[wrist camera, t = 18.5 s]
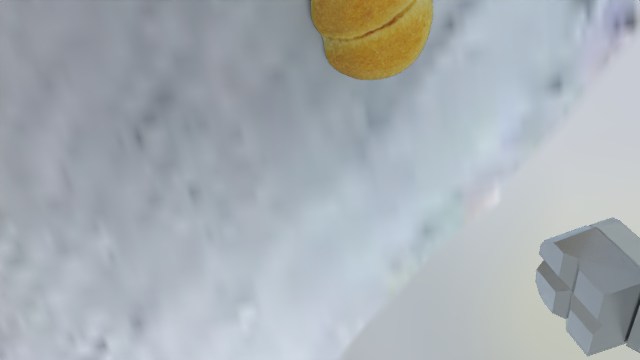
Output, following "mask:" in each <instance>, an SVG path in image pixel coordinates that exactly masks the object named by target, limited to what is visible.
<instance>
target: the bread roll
mask: <svg viewBox="0 0 640 360" xmlns="http://www.w3.org/2000/svg"><path fill="white" fill-rule="evenodd" d="M311 16H312V20H313V23H314V26H315V27H316V29H317V30H318V32H319V33H320V34H321V35H322V38H323V41H324V49H325V53H326V57H327V59H328V61H329V63H330V64H331V65H332V66H333V67H334V68H335V69H336V70H338V71H339V72H341V73H343V74H345V75H347V76H350V77H352V78H355V79H361V80H376V79H383V78H388V77H391V76H394V75H396V74H398V73H400V72H401V71H403V70H405V69H406V68H407V67H409V66H410V65H411V64H412V63H413V62H414V61H415V60H416V58H417V57H418V56H419V55H420V53H421V51H422V50H423V48H424V45H425V43H426V41H427V39H428V35H429V32H430V28H431V24H432V20H433V1H432V0H311Z"/></svg>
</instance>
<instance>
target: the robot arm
mask: <svg viewBox="0 0 640 360" xmlns="http://www.w3.org/2000/svg"><path fill="white" fill-rule="evenodd" d="M539 255H540V256H541V257H542V258H543V259H544V261H543V262H542V263H541V265H540V266H539V267H538V268H537V271H536V284H537V288H538V291H539V294H540V296H541V298H542V300H543V302H544V303H545V305H546V306H547V307H548V308H549V310H550V311H551V312H552V313H554V314H556V315H558V316H560V317H563V318H565V319H566V331H567V332H568V333H569V334H570V336H571V337H572V338H573V339H574V341H576V343H577V344H578V345H579V347H580V348H581V349H582V350H583V351H584V353H585V354H586V355H587V356H590V355H593V354H596V353H599V352H602V351H605V350H608V349H611V348H613V347H617V346H619V345H622V344H625V343H627V344H626V346H628V347H630V348H631V349H633V350H635V351H637V352H639V353H640V238H639V237H638V236H637V235H636V234H635V233H633V232H632V231H631V230H630V229H629V228H628V227H627V226H625V225H624V224H623V223H622V222H621V221H619V220H617V219H615V218H609V219H606V220H603V221H600V222H597V223H595V224H592V225H589V226H584V227H581V228H578V229H575V230H573V231H569V232H567V233H564V234H561V235H558V236H555V237H553V238H550V239H547V240H544V242H543V243H542V244H541V246H540V251H539Z"/></svg>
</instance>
